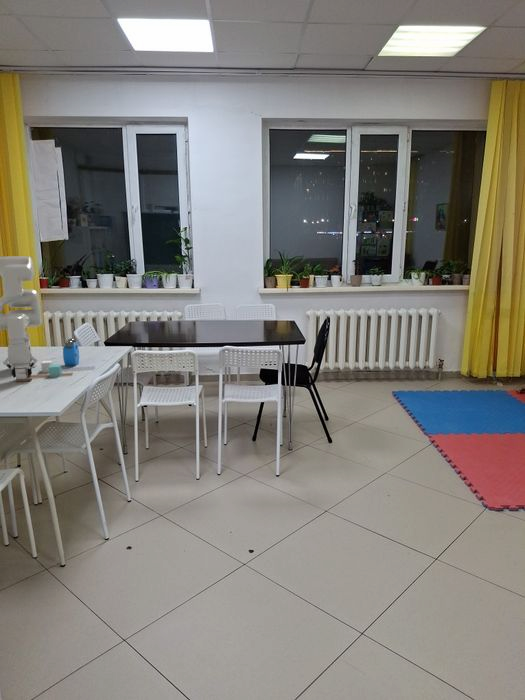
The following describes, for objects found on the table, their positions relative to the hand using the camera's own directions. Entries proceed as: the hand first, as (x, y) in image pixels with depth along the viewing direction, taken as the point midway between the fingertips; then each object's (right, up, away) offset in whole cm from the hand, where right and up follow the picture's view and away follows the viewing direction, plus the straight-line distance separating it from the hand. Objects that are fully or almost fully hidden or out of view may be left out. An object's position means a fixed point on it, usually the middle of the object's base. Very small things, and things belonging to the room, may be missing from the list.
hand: (22, 376), depth 232 cm
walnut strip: (+10, -1, +3) cm, 11 cm away
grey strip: (+17, +1, +15) cm, 23 cm away
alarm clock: (+14, +4, +27) cm, 31 cm away
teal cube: (+15, 0, +4) cm, 16 cm away
